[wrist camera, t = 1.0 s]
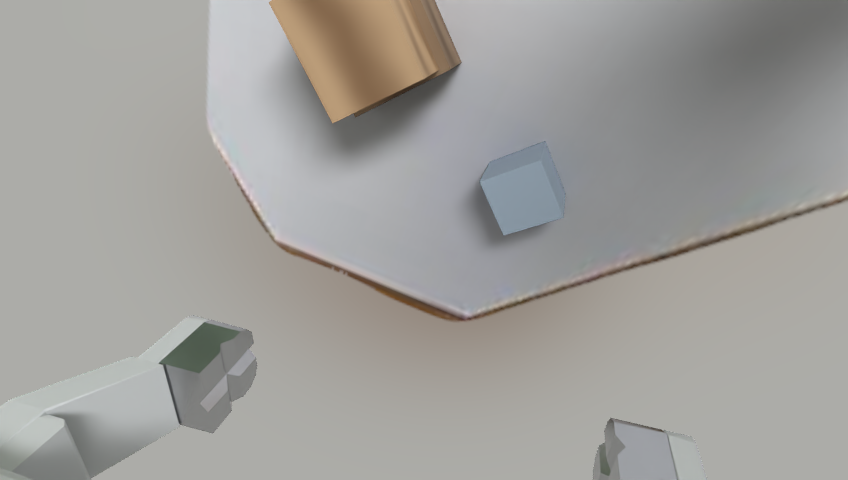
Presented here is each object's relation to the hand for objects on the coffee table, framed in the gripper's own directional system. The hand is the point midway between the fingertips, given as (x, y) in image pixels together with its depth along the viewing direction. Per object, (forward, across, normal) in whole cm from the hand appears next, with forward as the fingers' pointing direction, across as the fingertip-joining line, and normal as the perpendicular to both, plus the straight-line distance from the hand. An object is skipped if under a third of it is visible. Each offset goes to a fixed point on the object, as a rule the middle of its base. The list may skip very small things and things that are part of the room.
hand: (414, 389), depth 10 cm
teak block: (+29, +12, -4) cm, 31 cm away
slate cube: (+32, -1, +6) cm, 33 cm away
